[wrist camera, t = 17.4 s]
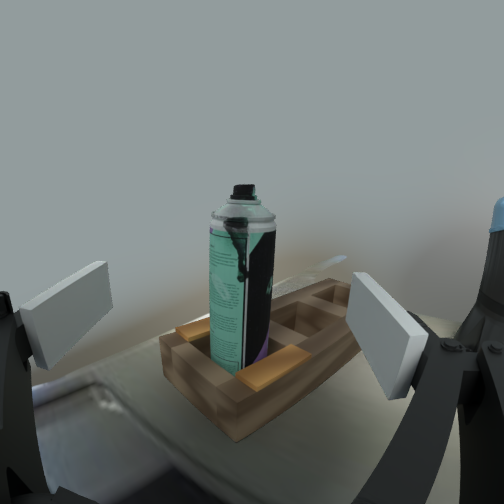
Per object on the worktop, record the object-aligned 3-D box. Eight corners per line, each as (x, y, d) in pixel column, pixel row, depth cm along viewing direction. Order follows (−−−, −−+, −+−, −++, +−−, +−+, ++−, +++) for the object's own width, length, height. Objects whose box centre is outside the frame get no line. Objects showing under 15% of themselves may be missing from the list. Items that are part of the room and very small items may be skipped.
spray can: (270, 398, 26) (288, 186, 22) (216, 405, 25) (216, 183, 20) (256, 367, 31) (266, 184, 27) (208, 372, 30) (207, 182, 25)
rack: (386, 326, 41) (393, 294, 40) (236, 442, 20) (237, 398, 19) (325, 304, 50) (329, 275, 48) (163, 375, 29) (158, 332, 27)
